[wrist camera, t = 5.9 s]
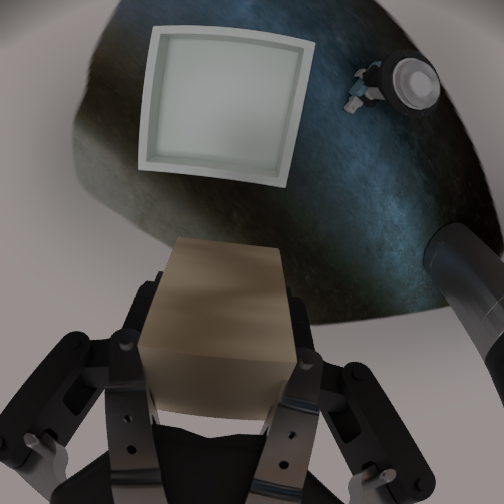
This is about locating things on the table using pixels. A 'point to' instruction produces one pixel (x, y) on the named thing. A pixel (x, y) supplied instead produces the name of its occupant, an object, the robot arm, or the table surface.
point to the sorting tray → (223, 102)
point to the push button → (398, 84)
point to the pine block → (219, 331)
